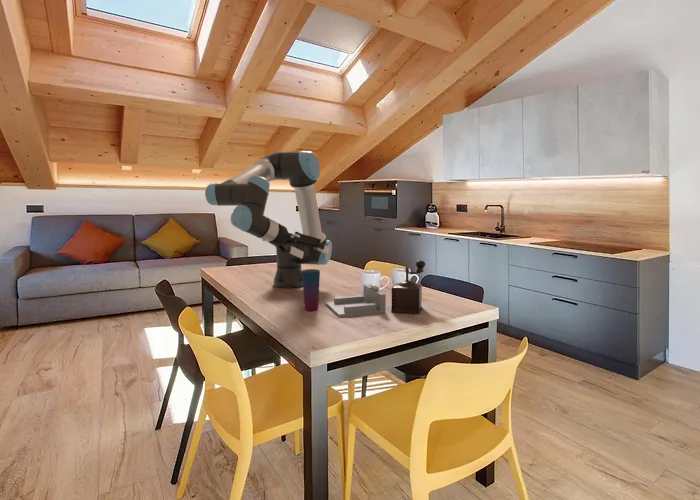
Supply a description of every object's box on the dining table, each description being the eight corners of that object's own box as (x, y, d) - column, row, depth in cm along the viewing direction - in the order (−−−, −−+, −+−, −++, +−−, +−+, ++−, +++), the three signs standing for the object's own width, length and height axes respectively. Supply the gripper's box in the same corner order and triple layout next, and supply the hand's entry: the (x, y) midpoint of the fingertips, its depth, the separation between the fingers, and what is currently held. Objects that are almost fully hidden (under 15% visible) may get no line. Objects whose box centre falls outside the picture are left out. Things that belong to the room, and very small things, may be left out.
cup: (317, 312, 156) (317, 272, 154) (300, 311, 157) (299, 272, 155) (322, 307, 162) (322, 269, 160) (305, 306, 163) (305, 268, 161)
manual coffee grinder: (420, 315, 153) (421, 266, 150) (390, 312, 156) (391, 264, 153) (425, 304, 167) (426, 259, 165) (397, 302, 170) (398, 258, 168)
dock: (325, 304, 166) (325, 283, 165) (368, 300, 172) (368, 280, 171) (338, 317, 149) (338, 293, 148) (385, 312, 155) (385, 290, 154)
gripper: (248, 247, 151) (291, 265, 166) (295, 237, 136) (337, 258, 150) (252, 228, 154) (294, 248, 169) (299, 216, 138) (340, 239, 153)
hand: (315, 253), depth 160 cm, fingers open, 13 cm apart
